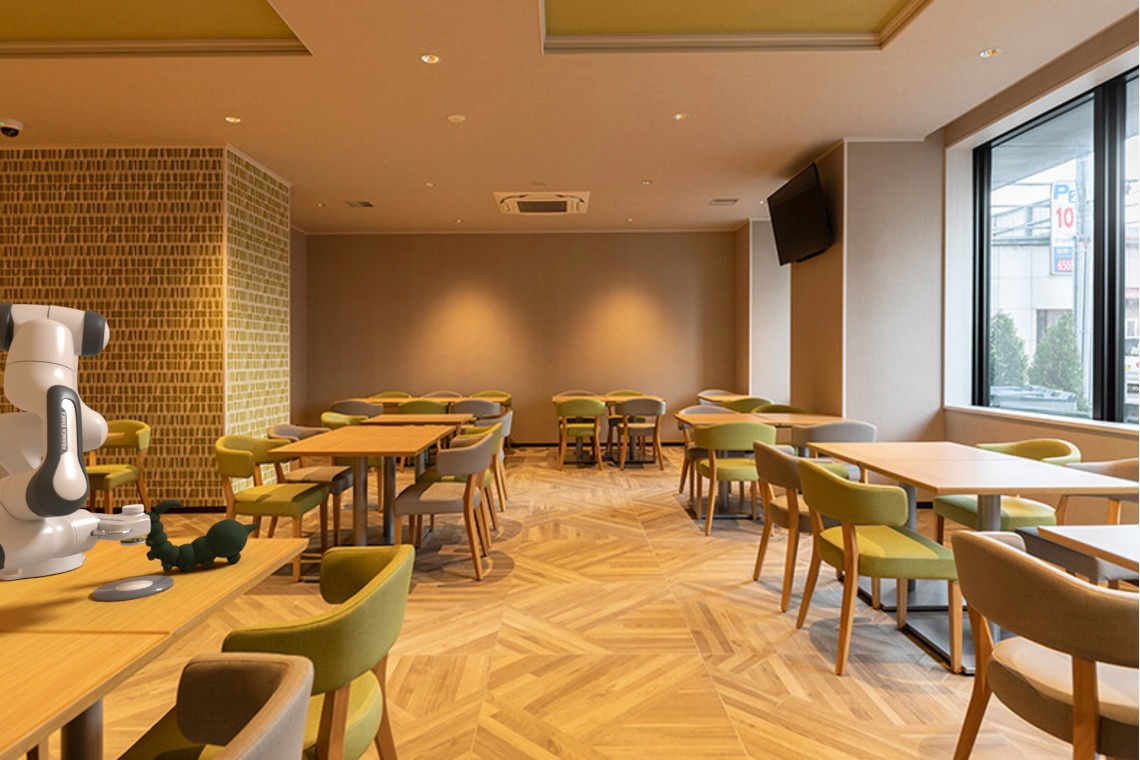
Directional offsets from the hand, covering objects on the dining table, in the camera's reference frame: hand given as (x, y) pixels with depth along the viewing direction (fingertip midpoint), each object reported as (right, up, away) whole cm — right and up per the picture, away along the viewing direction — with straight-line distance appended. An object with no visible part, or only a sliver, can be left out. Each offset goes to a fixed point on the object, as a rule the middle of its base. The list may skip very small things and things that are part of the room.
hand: (136, 517), depth 149 cm
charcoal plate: (0, -16, -1) cm, 16 cm away
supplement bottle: (0, -6, -1) cm, 6 cm away
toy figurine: (+6, -16, +16) cm, 23 cm away
